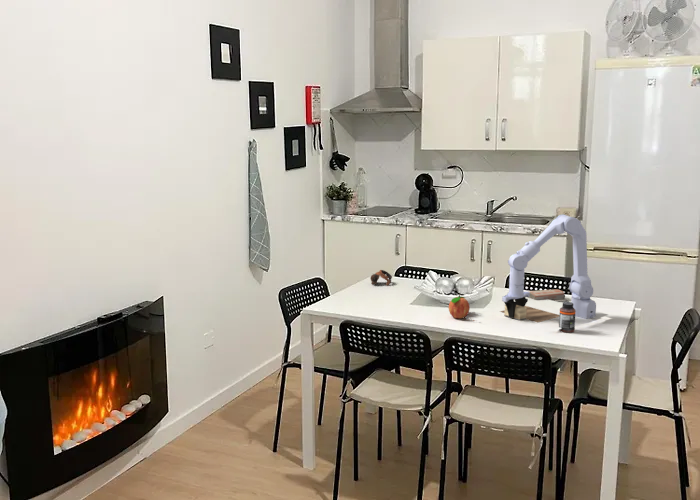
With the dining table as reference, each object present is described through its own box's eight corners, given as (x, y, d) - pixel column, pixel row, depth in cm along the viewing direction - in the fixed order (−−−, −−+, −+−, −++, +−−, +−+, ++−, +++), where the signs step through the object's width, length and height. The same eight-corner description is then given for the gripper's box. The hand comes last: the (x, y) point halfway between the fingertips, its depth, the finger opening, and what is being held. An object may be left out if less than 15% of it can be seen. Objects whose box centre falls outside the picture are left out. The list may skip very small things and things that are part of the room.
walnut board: (562, 319, 287) (562, 315, 287) (537, 326, 278) (537, 322, 278) (524, 308, 303) (524, 305, 303) (499, 314, 294) (499, 311, 294)
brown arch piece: (377, 282, 357) (385, 269, 354) (388, 293, 351) (397, 279, 349) (362, 280, 347) (371, 266, 345) (374, 291, 342) (382, 277, 340)
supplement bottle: (563, 327, 276) (564, 300, 274) (577, 330, 272) (579, 302, 270) (555, 331, 272) (557, 302, 270) (570, 334, 268) (571, 305, 266)
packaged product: (556, 287, 324) (568, 292, 315) (555, 297, 325) (567, 302, 316) (521, 289, 319) (533, 295, 310) (521, 300, 320) (532, 305, 311)
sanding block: (526, 318, 283) (526, 307, 282) (519, 320, 281) (520, 309, 280) (510, 314, 289) (511, 303, 288) (504, 315, 287) (504, 304, 286)
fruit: (473, 317, 291) (474, 294, 289) (461, 322, 284) (461, 298, 282) (456, 313, 296) (456, 290, 295) (443, 318, 289) (444, 294, 288)
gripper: (520, 279, 290) (519, 311, 292) (496, 284, 281) (495, 316, 284) (534, 282, 284) (532, 315, 287) (510, 287, 276) (508, 320, 278)
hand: (515, 316), depth 285 cm, fingers closed on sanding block, 4 cm apart
